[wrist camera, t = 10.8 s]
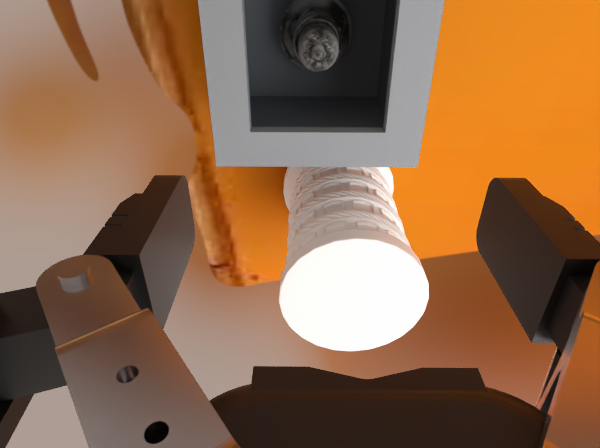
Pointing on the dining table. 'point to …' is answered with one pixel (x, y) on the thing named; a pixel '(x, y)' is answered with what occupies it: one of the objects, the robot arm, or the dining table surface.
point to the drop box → (319, 86)
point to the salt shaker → (315, 33)
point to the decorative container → (348, 260)
